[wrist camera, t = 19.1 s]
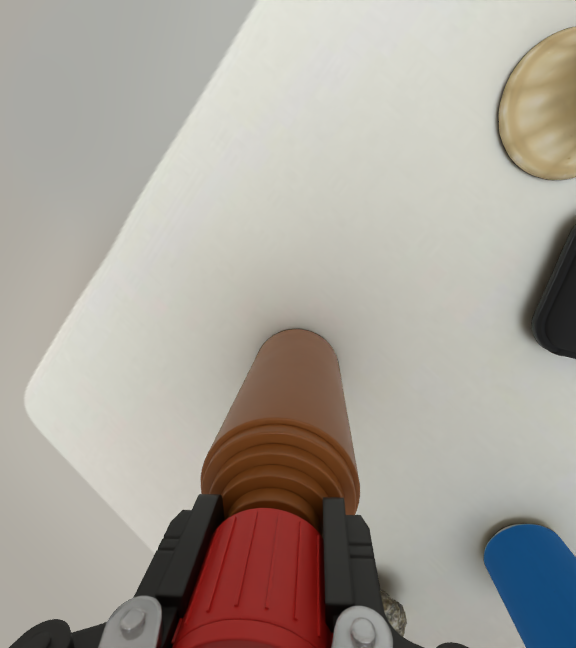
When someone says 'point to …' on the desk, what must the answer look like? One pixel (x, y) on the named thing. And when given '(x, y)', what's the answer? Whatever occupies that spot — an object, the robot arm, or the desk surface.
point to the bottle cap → (259, 586)
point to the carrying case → (559, 305)
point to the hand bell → (543, 109)
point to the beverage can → (535, 583)
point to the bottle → (286, 434)
